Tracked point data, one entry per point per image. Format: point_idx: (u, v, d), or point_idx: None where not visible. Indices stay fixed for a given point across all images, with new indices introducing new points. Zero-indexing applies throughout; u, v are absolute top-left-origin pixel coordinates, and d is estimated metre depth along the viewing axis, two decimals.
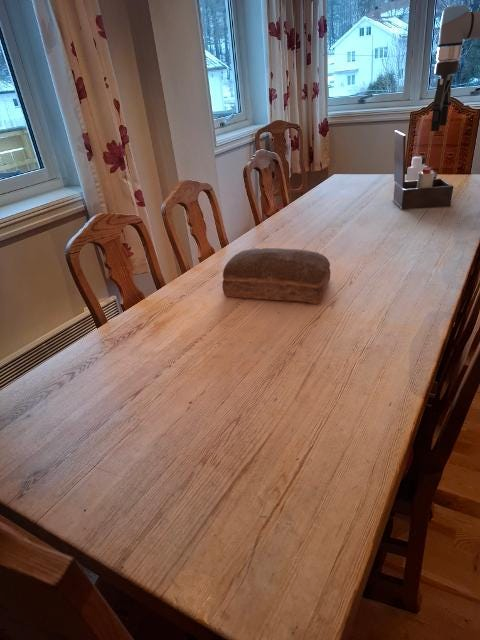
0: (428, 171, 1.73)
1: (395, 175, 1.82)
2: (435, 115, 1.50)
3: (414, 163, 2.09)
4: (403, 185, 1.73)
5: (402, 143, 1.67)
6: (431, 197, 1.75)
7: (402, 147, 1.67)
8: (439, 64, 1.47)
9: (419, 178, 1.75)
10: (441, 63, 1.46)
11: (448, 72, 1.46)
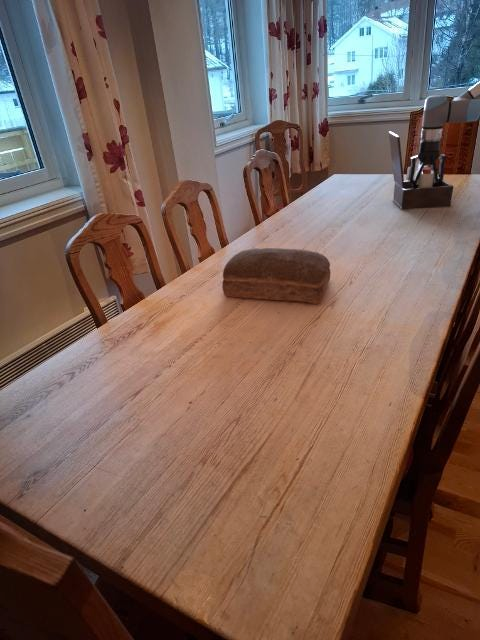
0: (428, 171, 1.73)
1: (394, 175, 1.82)
2: (412, 186, 1.78)
3: None
4: (403, 185, 1.74)
5: (397, 144, 1.67)
6: (431, 197, 1.75)
7: (397, 148, 1.68)
8: (421, 141, 1.71)
9: (419, 178, 1.75)
10: (421, 141, 1.70)
11: (421, 150, 1.69)
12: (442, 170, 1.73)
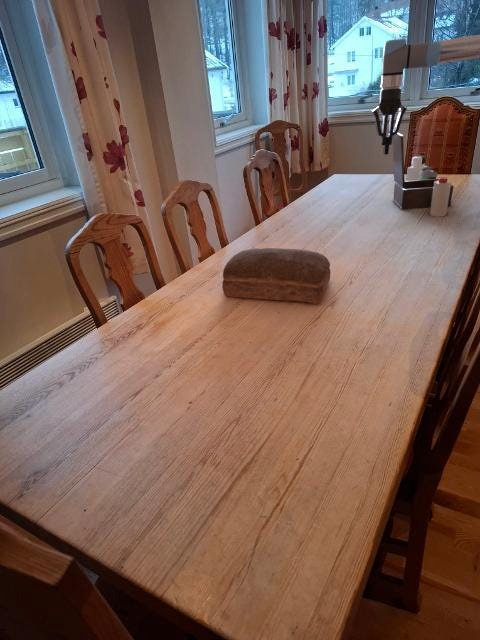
0: (445, 180, 1.62)
1: (395, 175, 1.82)
2: None
3: (414, 163, 2.09)
4: (403, 185, 1.73)
5: (400, 143, 1.67)
6: (431, 197, 1.75)
7: (400, 147, 1.67)
8: None
9: (435, 188, 1.64)
10: (381, 90, 1.64)
11: (381, 98, 1.63)
12: (399, 123, 1.67)
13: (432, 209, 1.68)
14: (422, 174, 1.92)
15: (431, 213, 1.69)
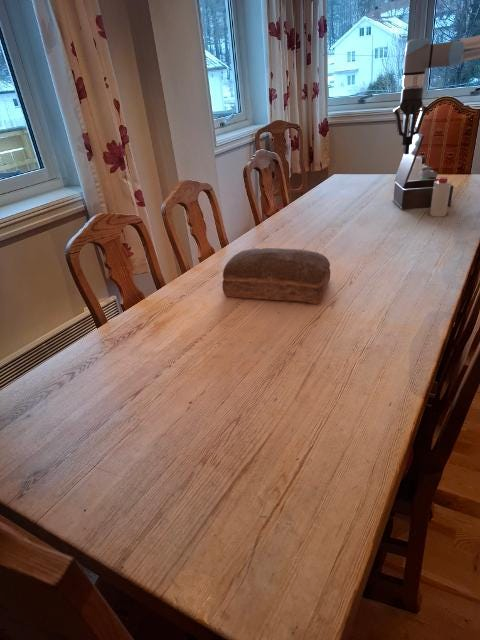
0: (445, 180, 1.62)
1: (397, 175, 1.82)
2: (402, 140, 1.71)
3: (414, 163, 2.09)
4: (404, 185, 1.73)
5: (418, 143, 1.66)
6: (431, 197, 1.75)
7: (416, 147, 1.67)
8: None
9: (435, 188, 1.64)
10: None
11: (403, 98, 1.62)
12: (420, 122, 1.66)
13: (432, 209, 1.68)
14: (422, 174, 1.92)
15: (431, 213, 1.69)
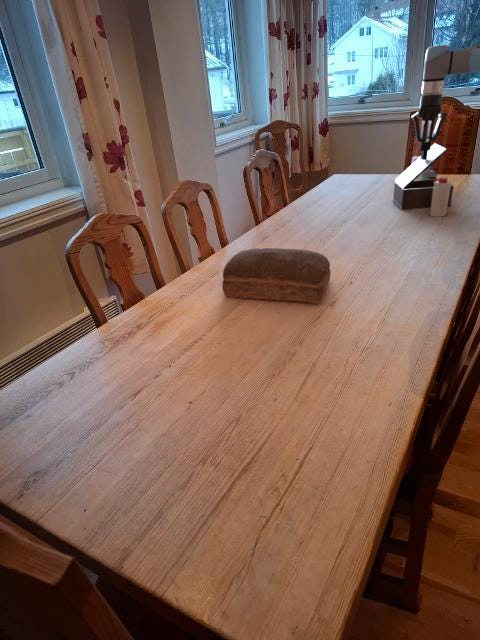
0: (445, 180, 1.62)
1: (401, 176, 1.82)
2: (420, 145, 1.72)
3: None
4: (406, 186, 1.74)
5: (438, 154, 1.68)
6: (431, 197, 1.75)
7: (435, 157, 1.69)
8: None
9: (435, 188, 1.64)
10: None
11: (422, 104, 1.63)
12: (438, 128, 1.67)
13: (432, 209, 1.68)
14: (422, 174, 1.92)
15: (431, 213, 1.69)
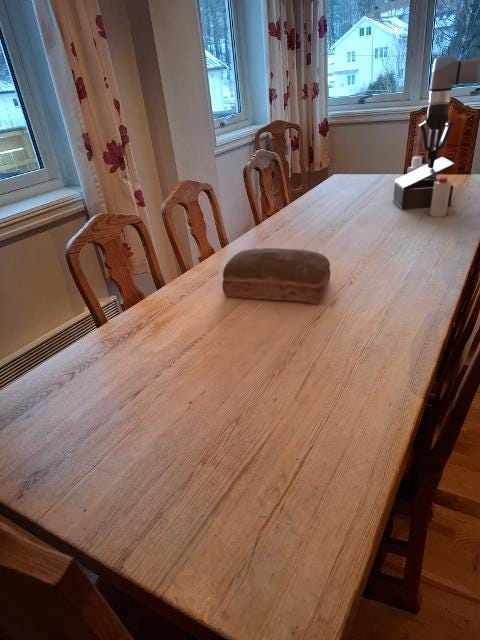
0: (445, 180, 1.62)
1: (402, 178, 1.83)
2: (427, 154, 1.73)
3: (414, 163, 2.09)
4: (406, 186, 1.74)
5: (445, 166, 1.70)
6: (431, 197, 1.75)
7: (441, 168, 1.71)
8: (429, 105, 1.66)
9: (435, 188, 1.64)
10: (429, 105, 1.65)
11: (429, 113, 1.65)
12: (445, 137, 1.69)
13: (432, 209, 1.68)
14: None
15: (431, 213, 1.69)
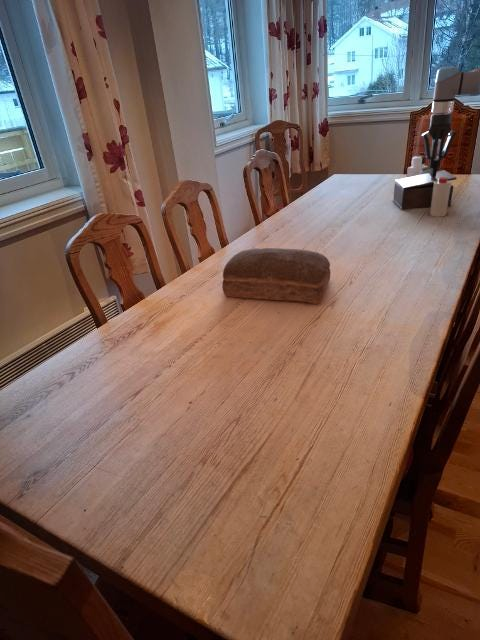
0: (445, 180, 1.62)
1: (403, 179, 1.83)
2: (429, 163, 1.75)
3: (414, 163, 2.09)
4: (406, 187, 1.74)
5: None
6: (431, 197, 1.75)
7: None
8: (432, 115, 1.68)
9: (435, 188, 1.64)
10: (432, 115, 1.67)
11: (432, 123, 1.66)
12: (448, 147, 1.70)
13: (432, 209, 1.68)
14: None
15: (431, 213, 1.69)
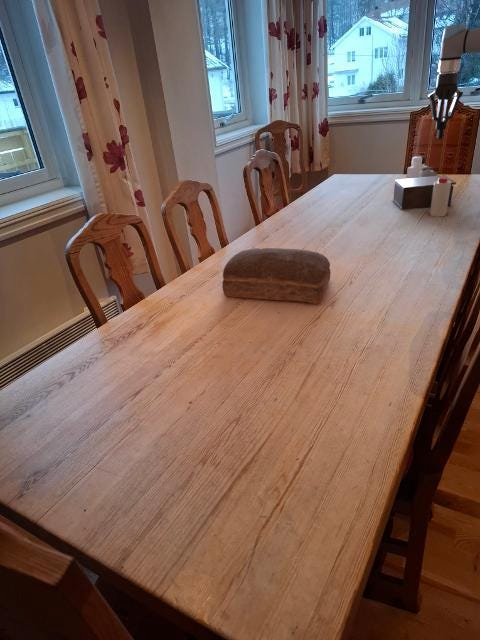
0: (445, 180, 1.62)
1: (403, 180, 1.83)
2: (436, 124, 1.75)
3: (414, 163, 2.09)
4: (406, 188, 1.74)
5: None
6: (431, 197, 1.75)
7: None
8: (438, 75, 1.68)
9: (435, 188, 1.64)
10: (438, 75, 1.67)
11: (438, 83, 1.67)
12: (454, 107, 1.71)
13: (432, 209, 1.68)
14: (422, 174, 1.92)
15: (431, 213, 1.69)
